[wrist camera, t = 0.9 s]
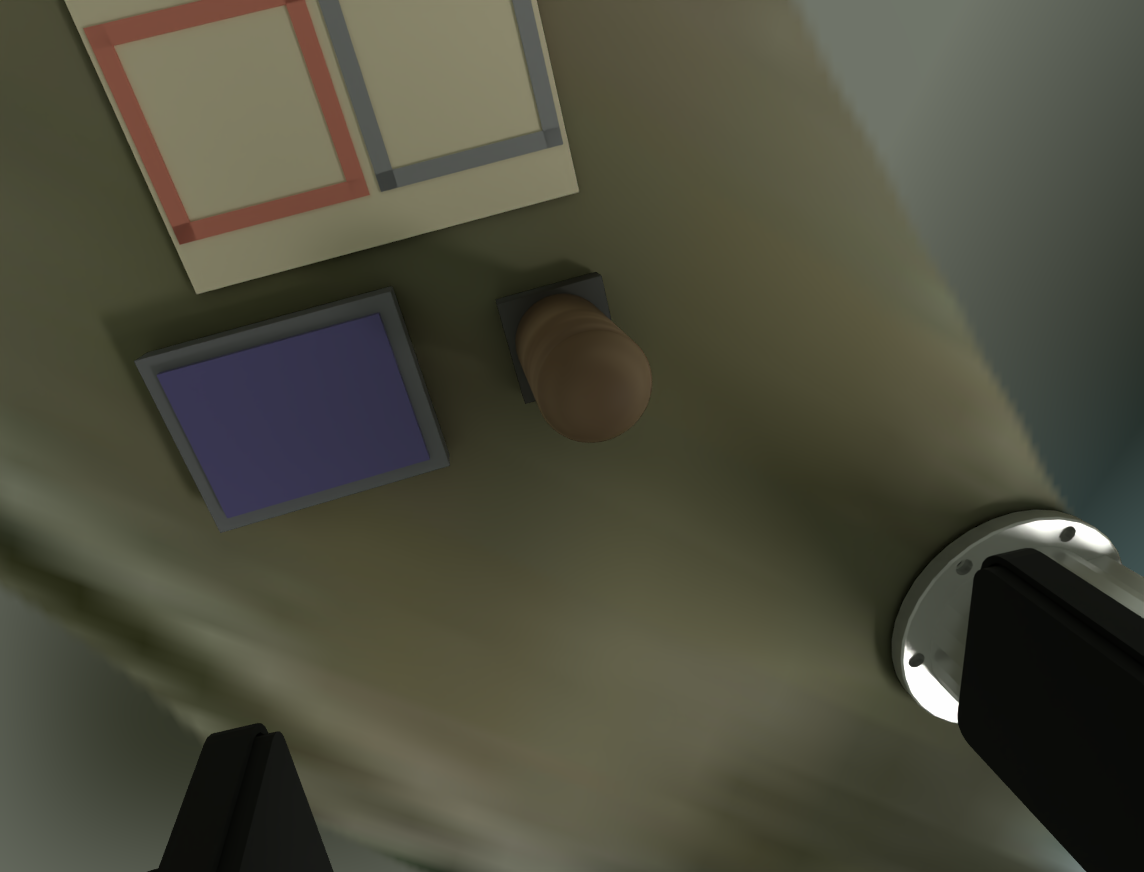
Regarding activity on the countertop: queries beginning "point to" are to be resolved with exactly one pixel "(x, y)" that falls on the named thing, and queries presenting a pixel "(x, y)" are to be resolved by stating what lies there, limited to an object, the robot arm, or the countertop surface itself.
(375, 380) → the ink pad
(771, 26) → the countertop surface
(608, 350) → the stamp
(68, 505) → the countertop surface
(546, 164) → the card sheet
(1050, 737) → the robot arm
